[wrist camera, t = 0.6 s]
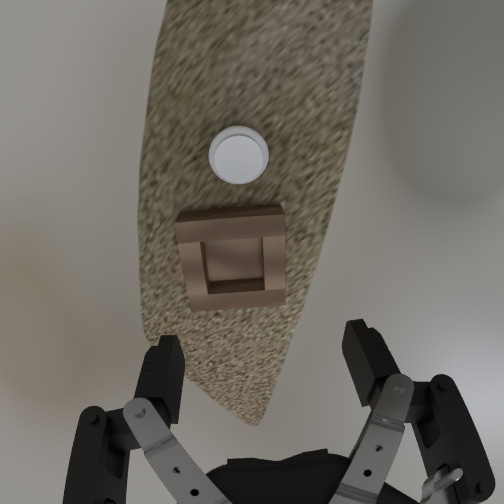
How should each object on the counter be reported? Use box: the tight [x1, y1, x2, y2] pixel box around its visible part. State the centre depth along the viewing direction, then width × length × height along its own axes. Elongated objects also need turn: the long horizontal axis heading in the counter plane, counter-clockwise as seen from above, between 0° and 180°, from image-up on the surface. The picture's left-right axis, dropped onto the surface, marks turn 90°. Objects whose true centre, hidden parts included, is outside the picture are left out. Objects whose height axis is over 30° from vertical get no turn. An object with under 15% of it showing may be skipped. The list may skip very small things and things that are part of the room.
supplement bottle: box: [209, 125, 269, 184], centre depth 26 cm, size 5×5×10 cm
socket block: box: [174, 204, 286, 311], centre depth 35 cm, size 12×12×4 cm
